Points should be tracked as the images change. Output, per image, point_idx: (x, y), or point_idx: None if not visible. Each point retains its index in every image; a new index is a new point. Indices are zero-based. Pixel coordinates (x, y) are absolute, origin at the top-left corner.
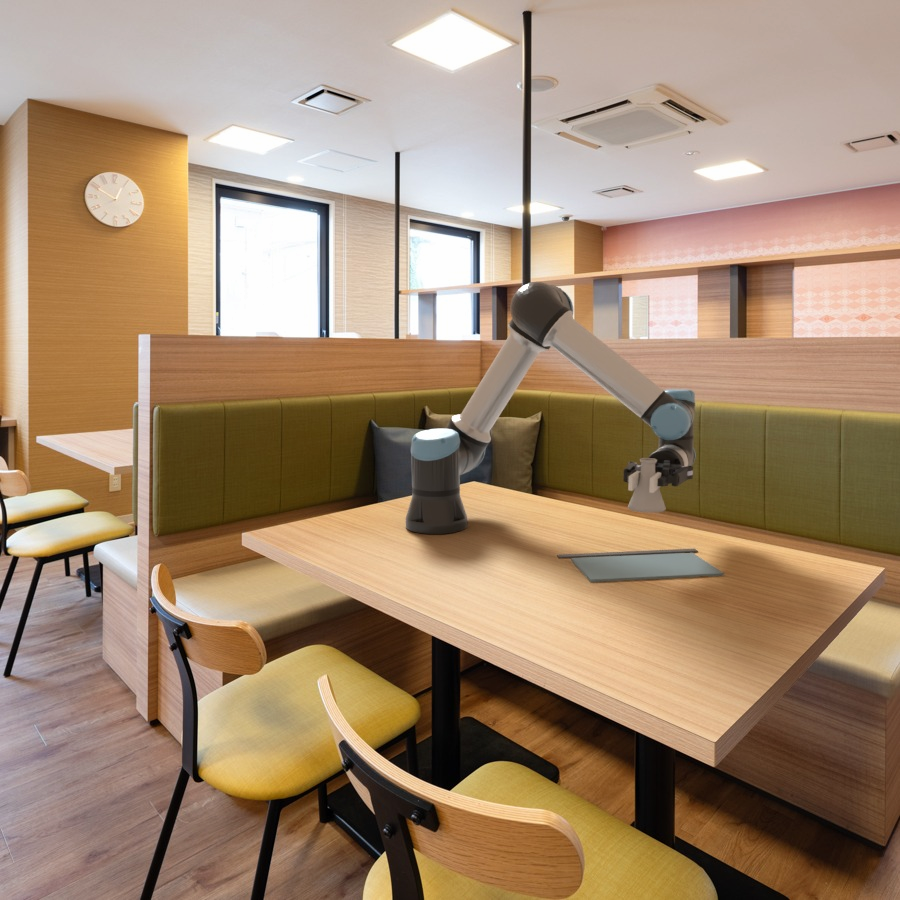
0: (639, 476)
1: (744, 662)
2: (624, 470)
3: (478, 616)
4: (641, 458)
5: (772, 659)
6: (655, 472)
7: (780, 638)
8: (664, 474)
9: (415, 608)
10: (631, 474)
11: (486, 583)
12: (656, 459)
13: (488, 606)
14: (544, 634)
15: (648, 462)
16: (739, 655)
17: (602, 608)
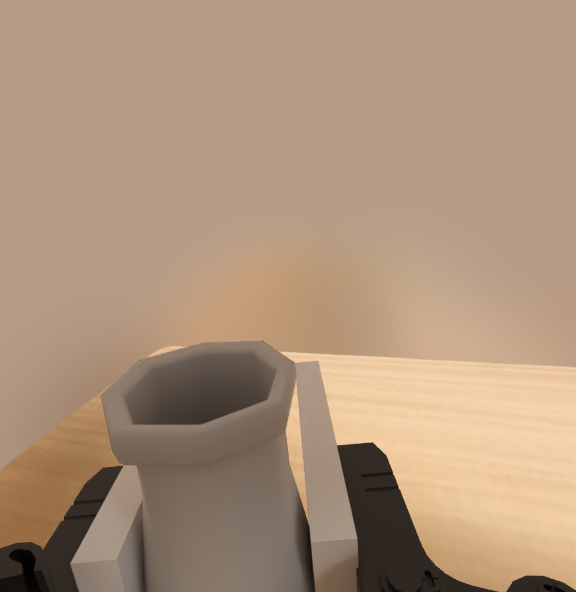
0: (305, 518)
1: (100, 420)
2: (554, 588)
3: (434, 379)
4: (283, 377)
5: (59, 437)
6: (143, 514)
7: (5, 494)
8: (36, 588)
9: (514, 364)
10: (391, 515)
11: (562, 455)
12: (104, 399)
13: (453, 399)
14: (334, 381)
15: (199, 360)
16: (100, 430)
17: (302, 462)
